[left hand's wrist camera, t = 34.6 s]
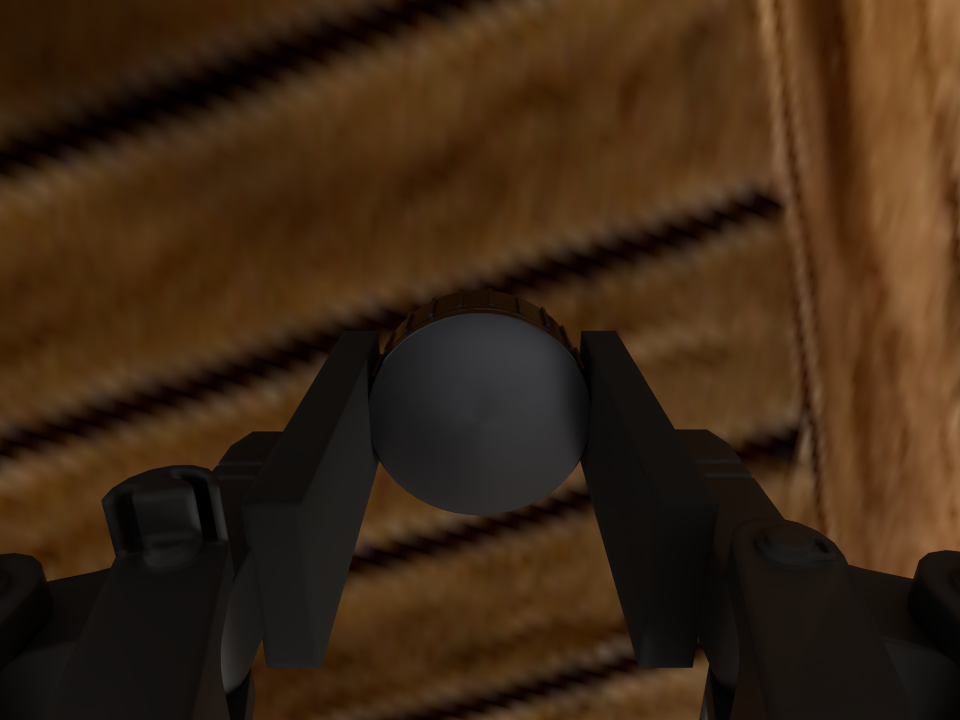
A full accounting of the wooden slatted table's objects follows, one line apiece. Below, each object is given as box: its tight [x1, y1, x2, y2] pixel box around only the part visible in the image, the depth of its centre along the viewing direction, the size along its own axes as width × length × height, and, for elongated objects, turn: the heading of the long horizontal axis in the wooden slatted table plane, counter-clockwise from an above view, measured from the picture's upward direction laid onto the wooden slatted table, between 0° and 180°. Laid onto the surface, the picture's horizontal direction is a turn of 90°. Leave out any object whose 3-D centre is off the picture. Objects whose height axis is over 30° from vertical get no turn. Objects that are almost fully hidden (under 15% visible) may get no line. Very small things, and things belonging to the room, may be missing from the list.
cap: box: [368, 288, 591, 515], centre depth 14 cm, size 5×5×2 cm
